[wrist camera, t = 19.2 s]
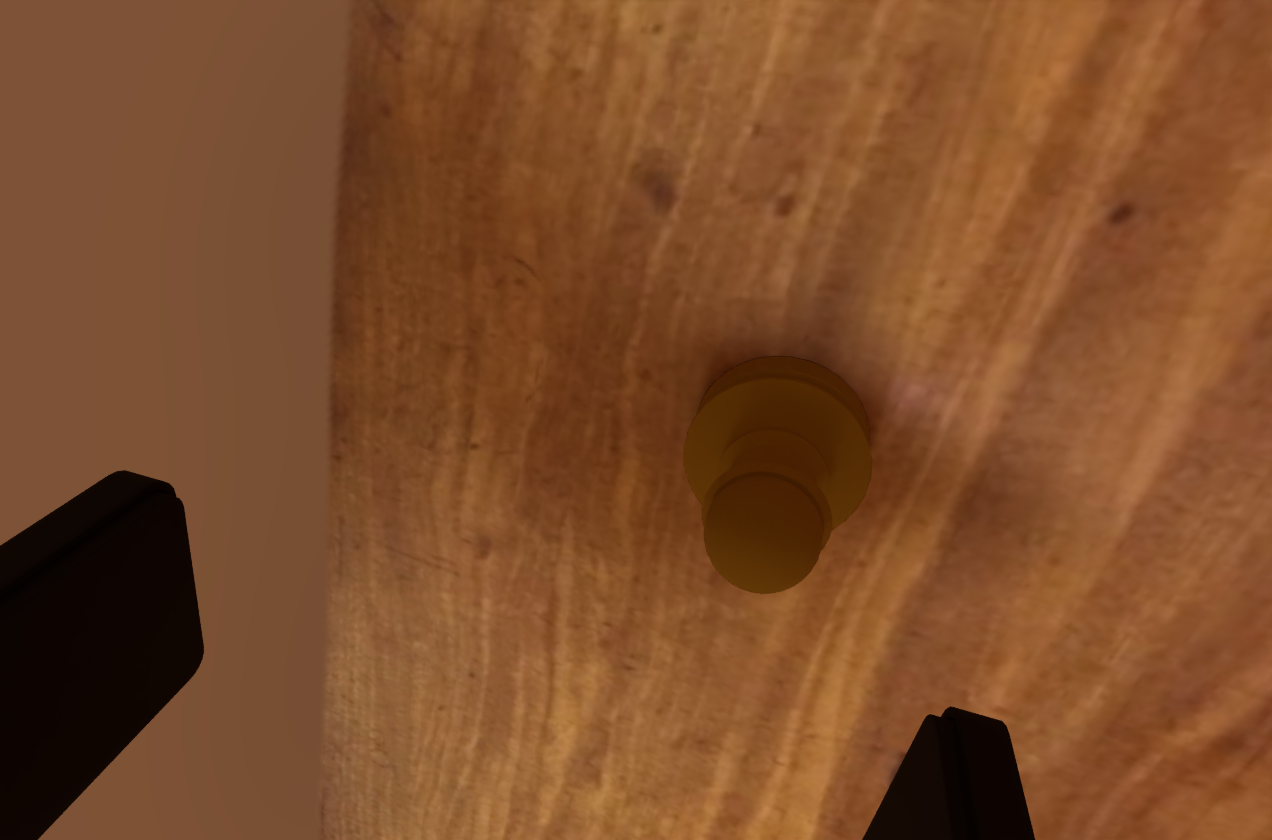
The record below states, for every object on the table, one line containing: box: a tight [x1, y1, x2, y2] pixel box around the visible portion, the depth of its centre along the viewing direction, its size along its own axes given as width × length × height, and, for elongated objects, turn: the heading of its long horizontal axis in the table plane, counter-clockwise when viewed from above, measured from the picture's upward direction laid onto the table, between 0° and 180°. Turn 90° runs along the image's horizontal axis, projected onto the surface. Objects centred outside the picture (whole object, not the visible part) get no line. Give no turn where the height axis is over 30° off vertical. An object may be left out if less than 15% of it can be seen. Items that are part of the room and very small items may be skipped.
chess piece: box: [684, 356, 872, 594], centre depth 16 cm, size 4×4×5 cm
